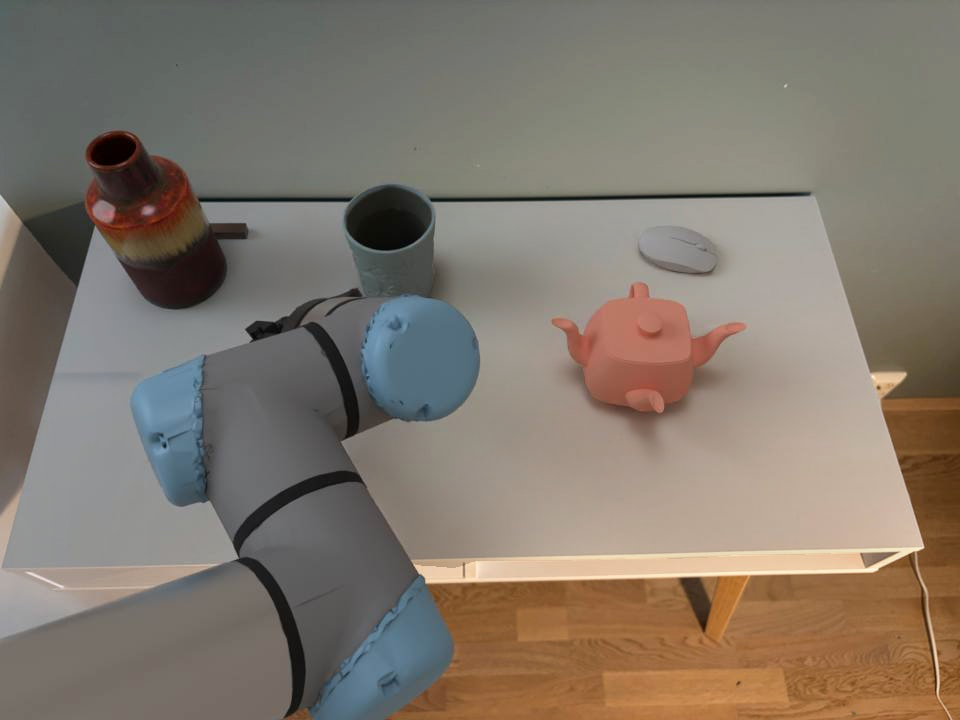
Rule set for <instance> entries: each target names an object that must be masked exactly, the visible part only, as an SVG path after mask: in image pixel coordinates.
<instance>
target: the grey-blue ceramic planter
mask: <svg viewBox="0 0 960 720" xmlns="http://www.w3.org/2000/svg"><path fill="white" fill-rule="evenodd" d="M436 218H437V217H436V209H435V207H434V204H433V203H432V200H431V199H430V198H429V197H428V196H427V195H426V194H425V193H424V192H422V191H421V190H420V189H418V188H416V187H413V186H411V185H407V184H403V183H397V182H396V183H394V182H387V183H380V184H375V185H372V186H369V187H367V188H365V189H362V190H361V191H360V192H358V193H357V194H356V195H354V197H352V199H351V200H350V201H349V202H348V203H347V205H346V206H345V208H344V211H343V213H342V218H341V219H342V221H341V224H342V229H343V232H344V234H345V237H346V240H347V243H348V246H349V249H350V250H351V255H352V258H353V261H354V264H355V268H356V269H357V274H358V277H359V280H360V282H361V286H362V289H363V292H364V294H365V296H366V298H375V297H397V296H401V295H403V294H410V295H413V296H414V295H418V296H420V297H424V298H429V296H430V294H431V292H432V291H433V290H432V289H433V287H434V286H433V285H434V271H435V270H434V266H433V262H434V256H435V250H434V249H435V240H434V237H435V232H436Z"/></svg>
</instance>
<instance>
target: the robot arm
mask: <svg viewBox="0 0 960 720" xmlns="http://www.w3.org/2000/svg"><path fill="white" fill-rule="evenodd" d="M244 331H246V333H247V334H248V336H250V338H251V340H250V341H249V342H248V343H244V344H239V345H237V346H234V347H231V348H227V349H224V350H221V351H216V352H214V353H210V354H201V355H199V356H197V357H194V358H192V359H190V360H188V361H185V362H182V363H180V364H177V365H175V366H172V367H169V368H167V369H165V370H163V371H161V372H159V373H157V374H155V375H153V376H150V377H147V378H145V379H144V380H142V381H140V382H139V383H138V384H137V385H136V386H135V387H134V389H133V390H132V392H131V395H130V400H129V407H130V411H131V415H132V419H133V423H134V425H135V427H136V431H137V434H138V436H139V440H140V442H141V445H142V447H143V450H144V452H145V455H146V457H147V460H148V462H149V464H150V467H151V470H152V471H153V474H154V476H155V478H156V480H157V483H158V484H159V486H160V488H161V489H162V493H163V495H164V496H165V498H166V499H167V501H168V503H170V504H171V505H173V506H176V507H178V508H180V507H181V508H183V507H189V506H191V505H194V504H198V503H201V504H205V503H207V502H210V505H212V507H213V510H214V512H215V514H216V515H217V517H218V519H219V521H220V523H221V524H222V526H223V529H224V531H225V533H226V534H227V536H228V539H229V540H230V542H231V543H232V546H233V549H234V551H235V553H236V556H237V557H238V558H236V559H234V560H230V561H228V562H223V563H219V564H217V565H214V566H211V567H208V568H205V569H202V570H200V571H199V570H198V571H197V572H193V573H190V574H187V575H184V576H181V577H178V578H176V579H173V580H170V581H167V582H164V583H161V584H158V585H155V586H152V587H149V588H146V589H143V590H140V591H137V592H134V593H132V594H131V593H130V594H129V595H126V596H123V597H122V596H121V597H119V598H116V599H113V600H110V601H108V602H105V603H102V604H98V605H96V606H92V607H90V608H87V609H84V610H81V611H77V612H75V613H73V614H69V615H66V616H63V617H60V618H57V619H54V620H52V621H48V622H45V623H42V624H40V625H37V626H33V627H30V628H28V629H24V630H21V631H19V632H17V633H16V632H15V633H13V634H10V635H7V636H3V637H0V720H284V719H286V718H288V717H290V716H293V715H294V714H295V713H297V712H300V711H302V710H305V709H306V710H307V712H308V714H309V715H308V716H309V718H310V719H312V720H385V719H387V718H389V717H391V716H392V715H393V714H395V713H396V712H398V711H399V710H401V709H402V708H404V707H405V706H407V705H408V704H409V703H411V702H412V701H414V700H415V699H416V698H418V697H419V696H421V694H423V693H424V692H425V691H426V690H428V689H429V688H430V687H432V686H433V685H434V684H435V683H436V682H437V681H438V680H439V679H440V678H441V677H442V676H444V674H445V672H446V671H447V670H448V669H449V668H450V666H451V663H452V662H453V658H454V654H455V643H454V639H453V636H452V633H451V632H450V630H449V628H448V626H447V624H446V622H445V620H444V619H443V616H442V614H441V612H440V609H439V608H438V606H437V605H436V602H435V599H434V598H433V596H432V594H431V592H430V590H429V588H428V586H427V584H426V577H425V576H424V575H423V574H422V573H419V571H418V569H417V568H416V566H415V565H414V563H413V561H412V560H411V558H410V556H409V555H408V553H407V552H406V550H405V548H404V547H403V545H402V543H401V542H400V540H399V538H398V537H397V535H396V534H395V532H394V530H393V529H392V527H391V526H390V524H389V523H388V521H387V519H386V518H385V515H384V514H383V513H382V511H381V510H380V508H379V506H378V504H377V502H376V501H375V499H374V498H373V496H372V494H371V493H370V490H369V489H368V486H367V485H366V483H365V482H364V480H363V477H362V476H361V474H360V472H359V471H358V469H357V467H356V466H355V464H354V462H353V460H352V459H351V457H350V455H349V454H348V452H347V451H346V449H345V447H344V445H343V443H342V442H343V441H346V440H348V439H349V438H350V439H351V438H352V437H355V436H356V435H358V434H360V433H361V434H362V433H363V432H366V431H368V430H370V429H373V428H375V427H378V426H379V425H382V424H384V423H388V422H389V421H391V420H401V421H403V422H406V423H410V422H416V423H418V422H423V423H426V422H427V423H428V422H434V421H438V420H441V419H444V418H446V417H448V416H450V415H452V414H453V413H455V412H456V411H457V410H458V409H459V408H460V407H462V406H463V405H464V404H465V402H466V401H467V400H468V399H469V397H470V395H472V393H473V390H474V388H475V386H476V384H477V381H478V378H479V374H480V367H481V353H480V352H481V351H480V346H479V340H478V338H477V334H476V332H475V330H474V328H473V326H472V324H471V323H470V322H469V319H467V317H466V316H465V315H464V314H463V313H462V312H461V311H460V310H459V309H457V308H456V307H454V306H452V305H451V304H449V303H447V302H445V301H442V300H439V299H436V298H429V297H427V298H424V297H420V296H418V295H414V296H413V295H410V294H403V295H401V296H397V297H375V298H367V297H365V296H364V295H363V293H362V292H361V291H360V289H359V288H358V287H353V288H350V289H349V290H347V291H346V292H344V293H341V294H338V295H334V296H331V297H319V298H314V299H310V300H308V301H306V302H304V303H302V304H300V305H298V306H297V307H295V309H294V310H293V311H292V312H291V313H290V314H289V315H285V316H282V317H280V318H278V319H277V320H276V321H267V320H254V321H253V322H252V323H251V324H250V325H248V326H247V327H246V328H244Z"/></svg>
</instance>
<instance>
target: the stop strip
mask: <svg viewBox="0 0 960 720" xmlns="http://www.w3.org/2000/svg"><path fill="white" fill-rule="evenodd" d="M209 223H210V226H211V228H212V230H213V232H214V234H215V236H216V239H217V240H218V239H219V240H220V239H221V240H222V239H248V233H249V228H248V227H249V226H248V225H247V223H246V222H209Z"/></svg>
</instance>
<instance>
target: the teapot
mask: <svg viewBox="0 0 960 720" xmlns="http://www.w3.org/2000/svg"><path fill="white" fill-rule="evenodd" d="M689 322H690V321H689V317H688V313H687V311H686V308H685V306H684V305H683V304H681V303H680V302H679V301H678V302H677V301H674V300H670V299H664V298H656V297H655V298H654V297H650V289H649V286H648V284H647V283H645V282H641V281H637V282H633V283H631V286H630V288H629V293H628V297H622V298H615V299H612V300H608V301H607V302H605V303H603V304H602V305H601V306H600V307H599V308H597V310H596V311H595V312H594V313H593V314H592V315H591V317H590V318H589V320H588V321H587V323H586V326H585V328H584V331H583V334H581V333H580V330H579V327H578V325H577V324H576V322H574V321H572V320H571V319H568V318H564V317H554V318H552V319H551V320H550V323H551V324H552V326H555V327H556V328H558V329H560V330H561V331H563V332H564V333H565V335H566V347H567V350H568V353H569V354H568V355H569V356H570V357H571V359H572V360H573V361H574V362H575V363H577V364H578V365H579V366H581V367H582V370H583V378H584V382H585V387H586V389H587V392H588V393H589V394H590V396H591V397H592V398H593V399H595V400H597V401H600V402H603V403H605V404H611V405H615V406H616V405H617V406H622V407H631V408H632V409H633V410H635V411H639V412H651V411H655V412H656V413H657V414H658V413H659V414H661V413H663V412H664V411H665V405H669V404H673V403H676V402H678V401H681V400H682V399H683V398H685V397H686V396H687V394H688V393H689V391H690V389H691V386H692V382H693V378H694V370H695V369H698V368H699V367H702V366H703V365H705V364H707V363H708V362H709V361H710V360H711V359H712V358H713V357H714V355H715V354H716V353H717V351H718V349H719V348H720V346H721V345H722V343H723V342H724V341H726V339H727V338H729V337H731V336H734V335H735V334H739V333H740V332H743V331H745V330H746V329H747V327H748V326H747V324H746V323H745V322H740V321H739V322H738V321H735V322H728V323H724V324H722V325H719V326H717V327H715V328H714V329H712V330H711V331H709V332H707V333H706V334H704V335H700V336H698V337H693V338H692V334H691V333H692V332H691V327H690V323H689Z"/></svg>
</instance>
